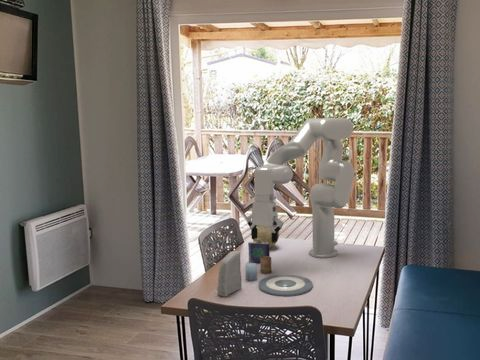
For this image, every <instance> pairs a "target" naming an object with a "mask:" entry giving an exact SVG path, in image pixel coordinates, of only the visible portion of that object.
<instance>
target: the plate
mask: <svg viewBox="0 0 480 360" xmlns="http://www.w3.org/2000/svg"><path fill="white" fill-rule="evenodd" d="M313 287H314V285H313V281H312V280H311V279H309V278H307V277H305V276H302V275H298V274H297V275H296V274H288V273H285V274H284V273H283V274H273V275H269V276H266V277H264V278H262V279H261V280H259V282H258V289H259V291H261V292H263V294H264V293H265V294H267V295H270V296H276V297H296V296H301V295H304V294H307V293H309V292H310V291H312V290H313Z"/></svg>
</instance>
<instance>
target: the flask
mask: <svg viewBox="0 0 480 360" xmlns="http://www.w3.org/2000/svg"><path fill="white" fill-rule="evenodd" d="M260 239H261V238H258V239H257V240H258V241H257V242H254V241H248V244H247V246H248V263H256V264H258V265H259V264H260V257H262V256H270V257H271V255H270V248H269V243H267V242H262V241H261V240H260Z"/></svg>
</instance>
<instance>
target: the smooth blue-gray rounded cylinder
mask: <svg viewBox="0 0 480 360" xmlns="http://www.w3.org/2000/svg"><path fill="white" fill-rule="evenodd" d="M244 267H245V280H246V281H247V282H256V281H257V280H258V265H257V264H256V263H249V262H246V263H245V266H244Z"/></svg>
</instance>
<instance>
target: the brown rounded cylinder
mask: <svg viewBox="0 0 480 360" xmlns="http://www.w3.org/2000/svg"><path fill="white" fill-rule="evenodd" d="M259 266H260V274H263V275H267V274H269V275H270V274H272V257H271V255H270V256H262V257H260V265H259Z"/></svg>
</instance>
